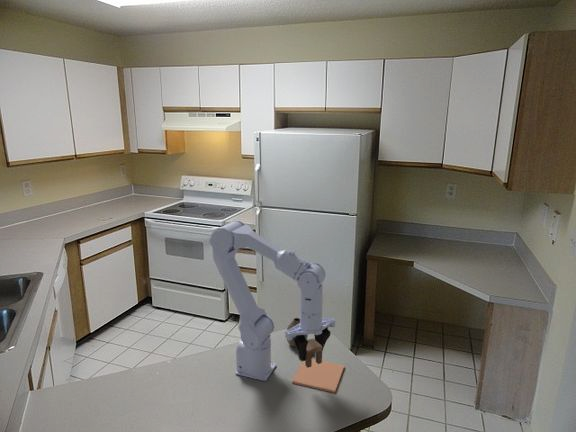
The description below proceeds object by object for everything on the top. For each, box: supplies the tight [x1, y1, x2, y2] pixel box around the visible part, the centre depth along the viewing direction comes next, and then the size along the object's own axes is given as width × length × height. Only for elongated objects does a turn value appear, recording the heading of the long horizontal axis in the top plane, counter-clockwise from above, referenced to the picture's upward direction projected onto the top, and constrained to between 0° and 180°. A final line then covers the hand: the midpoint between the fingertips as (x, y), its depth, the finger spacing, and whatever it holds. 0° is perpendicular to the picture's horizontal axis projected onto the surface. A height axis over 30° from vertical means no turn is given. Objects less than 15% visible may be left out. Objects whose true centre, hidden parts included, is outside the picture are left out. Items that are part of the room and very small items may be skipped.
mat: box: [291, 358, 345, 393], centre depth 113 cm, size 12×12×1 cm
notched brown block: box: [298, 338, 323, 368], centre depth 107 cm, size 4×4×5 cm
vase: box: [286, 317, 309, 349], centre depth 128 cm, size 7×7×9 cm
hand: (310, 356), depth 107 cm, fingers closed on notched brown block, 4 cm apart
